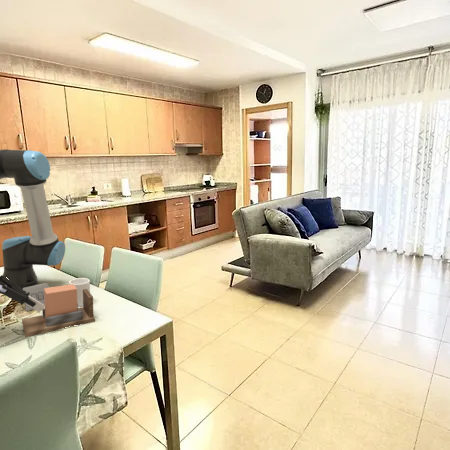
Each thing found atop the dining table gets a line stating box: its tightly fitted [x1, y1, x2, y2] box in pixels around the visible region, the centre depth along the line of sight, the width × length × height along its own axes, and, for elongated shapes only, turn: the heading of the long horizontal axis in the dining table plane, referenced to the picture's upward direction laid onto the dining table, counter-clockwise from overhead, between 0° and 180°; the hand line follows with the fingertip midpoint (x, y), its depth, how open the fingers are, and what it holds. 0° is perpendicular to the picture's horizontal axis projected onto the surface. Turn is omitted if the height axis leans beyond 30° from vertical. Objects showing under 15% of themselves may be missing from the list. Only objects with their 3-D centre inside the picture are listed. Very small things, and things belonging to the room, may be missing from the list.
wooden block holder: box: [21, 289, 96, 338], centre depth 119 cm, size 22×12×10 cm, turn 126°
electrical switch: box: [23, 282, 49, 312], centre depth 132 cm, size 9×5×9 cm, turn 141°
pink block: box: [44, 284, 78, 317], centre depth 119 cm, size 10×6×11 cm, turn 126°
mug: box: [68, 277, 91, 308], centre depth 139 cm, size 8×12×10 cm
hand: (41, 308), depth 116 cm, fingers closed
